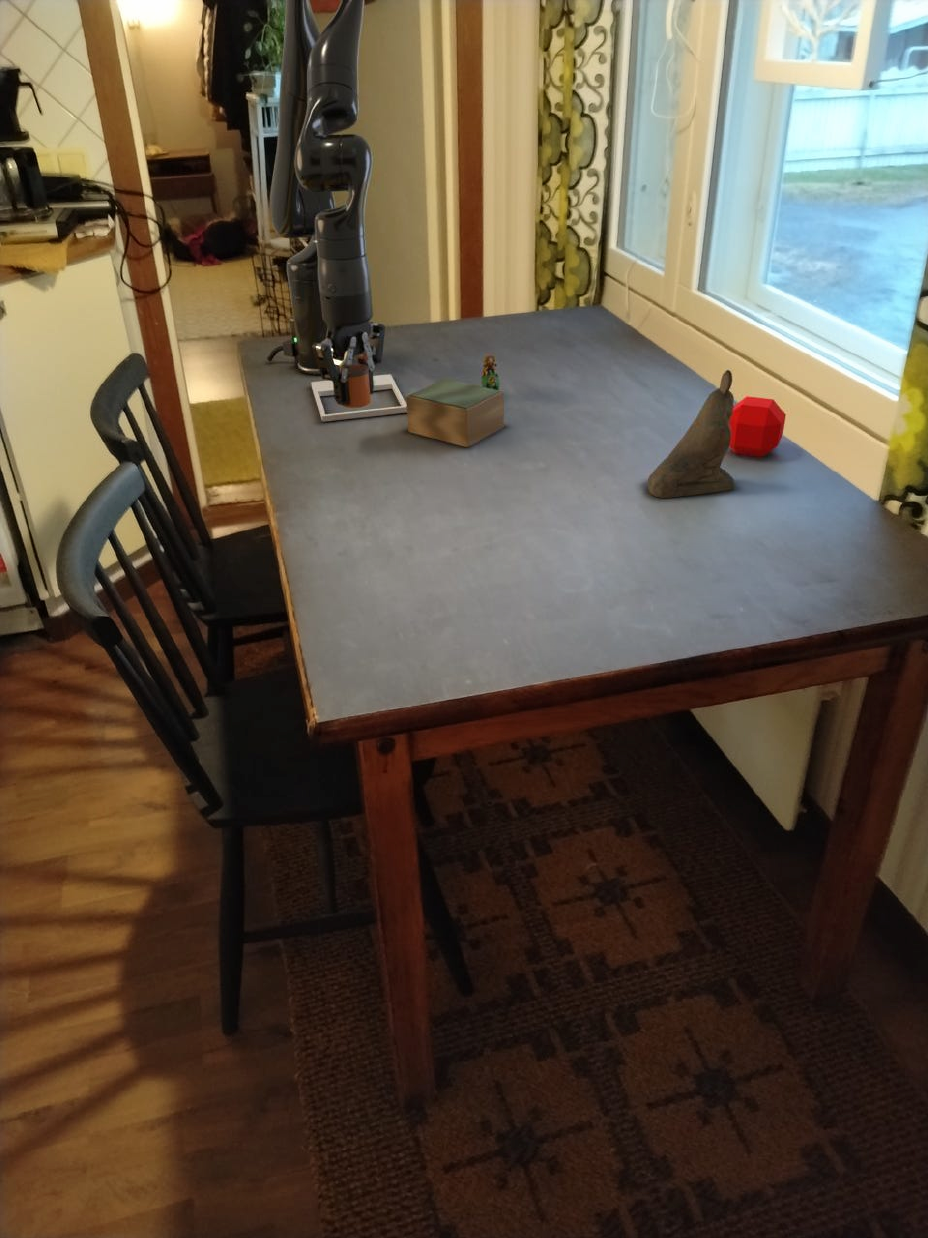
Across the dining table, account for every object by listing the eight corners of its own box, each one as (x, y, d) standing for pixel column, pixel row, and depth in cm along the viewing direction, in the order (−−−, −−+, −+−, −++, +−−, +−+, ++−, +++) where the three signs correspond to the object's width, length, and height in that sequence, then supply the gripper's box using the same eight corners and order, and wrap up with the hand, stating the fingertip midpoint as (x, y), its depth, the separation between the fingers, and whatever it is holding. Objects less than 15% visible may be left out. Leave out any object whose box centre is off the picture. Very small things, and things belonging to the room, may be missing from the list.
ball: (782, 444, 146) (790, 396, 142) (773, 464, 140) (781, 414, 136) (729, 437, 149) (735, 390, 145) (718, 456, 143) (724, 407, 139)
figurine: (495, 388, 172) (495, 343, 167) (503, 412, 162) (502, 364, 157) (478, 389, 171) (477, 344, 167) (485, 413, 161) (484, 365, 157)
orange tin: (333, 403, 149) (329, 369, 146) (354, 394, 152) (351, 361, 149) (356, 410, 147) (353, 375, 144) (377, 400, 150) (375, 366, 147)
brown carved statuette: (718, 492, 139) (759, 370, 130) (731, 508, 134) (775, 383, 125) (641, 483, 136) (677, 358, 127) (652, 498, 132) (691, 370, 123)
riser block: (408, 432, 155) (405, 394, 152) (445, 413, 162) (444, 377, 159) (467, 447, 149) (466, 409, 146) (504, 427, 156) (503, 390, 152)
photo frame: (390, 373, 177) (408, 405, 162) (390, 379, 177) (408, 412, 162) (311, 381, 174) (321, 415, 159) (311, 387, 175) (322, 421, 160)
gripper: (358, 273, 146) (367, 381, 156) (291, 294, 137) (305, 408, 146) (396, 279, 143) (403, 390, 152) (330, 301, 133) (341, 418, 142)
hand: (355, 398), depth 149 cm, fingers closed on orange tin, 4 cm apart
